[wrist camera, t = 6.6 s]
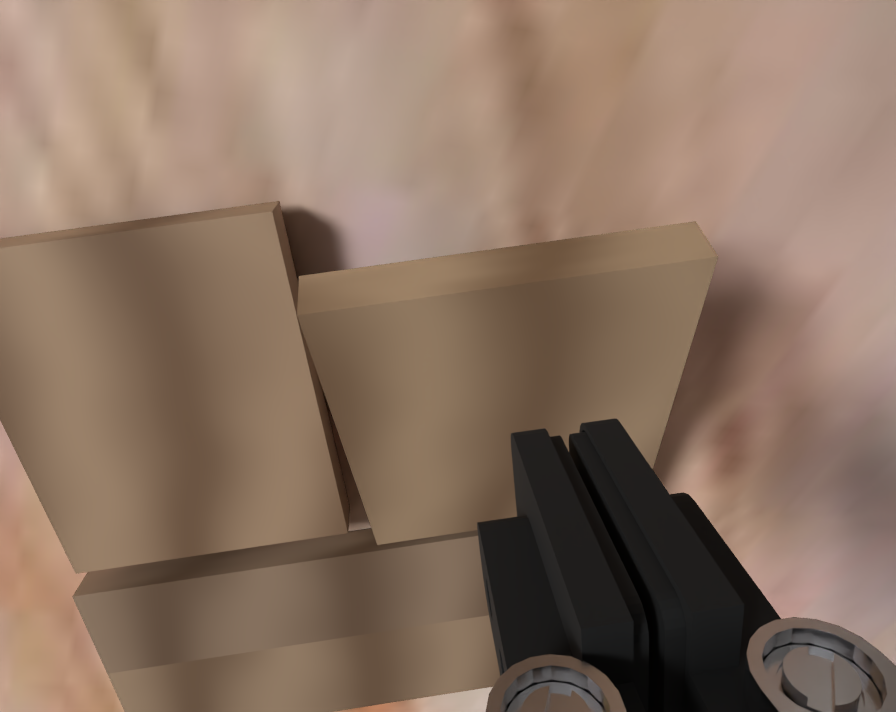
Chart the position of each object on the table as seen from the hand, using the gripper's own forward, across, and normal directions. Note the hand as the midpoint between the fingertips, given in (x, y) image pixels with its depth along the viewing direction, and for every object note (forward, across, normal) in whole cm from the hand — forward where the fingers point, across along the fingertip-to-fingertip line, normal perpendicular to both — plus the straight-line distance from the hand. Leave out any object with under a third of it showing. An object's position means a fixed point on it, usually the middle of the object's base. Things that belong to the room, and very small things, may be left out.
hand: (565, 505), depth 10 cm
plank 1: (+12, +11, +2) cm, 17 cm away
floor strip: (+13, +5, +14) cm, 19 cm away
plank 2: (+10, 0, +3) cm, 10 cm away
